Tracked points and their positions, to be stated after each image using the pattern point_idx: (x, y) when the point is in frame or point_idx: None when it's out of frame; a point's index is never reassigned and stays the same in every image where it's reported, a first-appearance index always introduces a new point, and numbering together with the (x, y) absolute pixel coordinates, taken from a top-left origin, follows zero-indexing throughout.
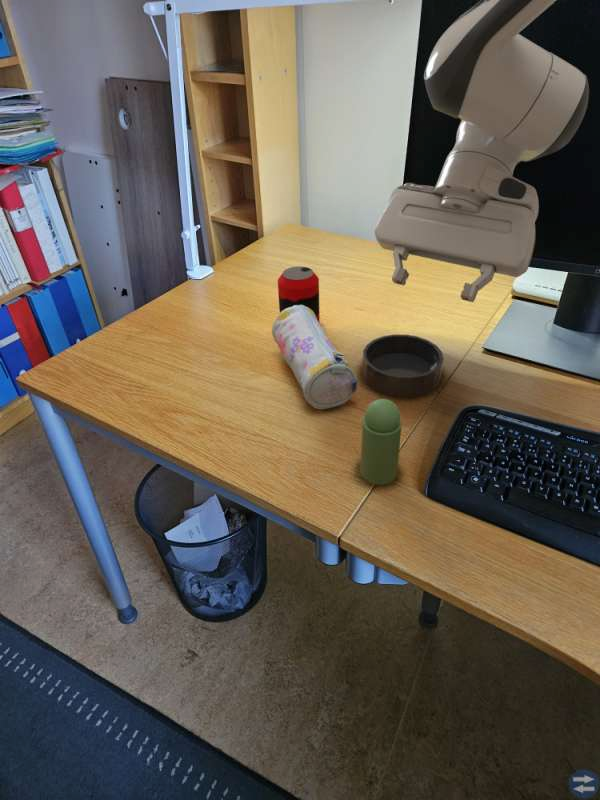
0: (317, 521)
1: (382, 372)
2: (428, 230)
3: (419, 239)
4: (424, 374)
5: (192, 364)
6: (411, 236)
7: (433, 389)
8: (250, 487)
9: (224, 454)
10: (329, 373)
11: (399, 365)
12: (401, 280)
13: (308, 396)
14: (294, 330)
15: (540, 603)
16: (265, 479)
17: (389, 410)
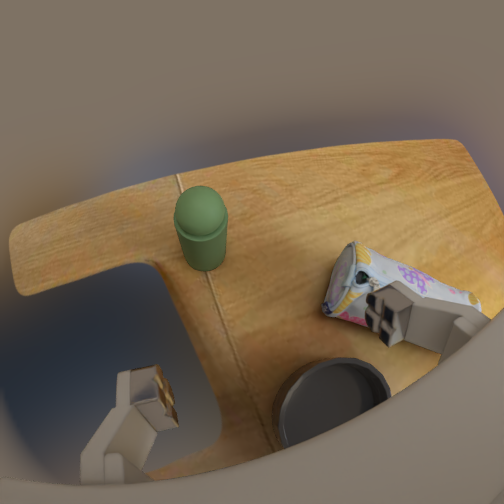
0: (201, 170)
1: (327, 363)
2: (492, 422)
3: (473, 370)
4: (282, 409)
5: (452, 225)
6: (500, 352)
7: (272, 423)
8: (274, 156)
9: (326, 165)
10: (349, 263)
11: (340, 419)
12: (370, 292)
13: (344, 248)
14: (445, 287)
15: (34, 240)
16: (274, 169)
17: (183, 197)
